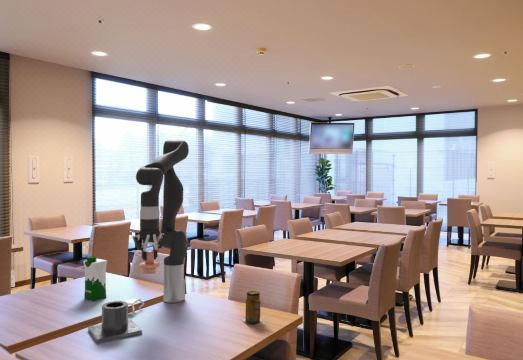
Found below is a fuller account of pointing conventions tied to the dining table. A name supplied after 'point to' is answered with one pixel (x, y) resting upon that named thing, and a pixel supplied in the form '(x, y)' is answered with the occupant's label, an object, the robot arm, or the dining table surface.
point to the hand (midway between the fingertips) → (149, 259)
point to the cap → (149, 263)
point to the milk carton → (95, 278)
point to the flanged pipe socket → (114, 323)
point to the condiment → (253, 309)
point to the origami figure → (133, 303)
